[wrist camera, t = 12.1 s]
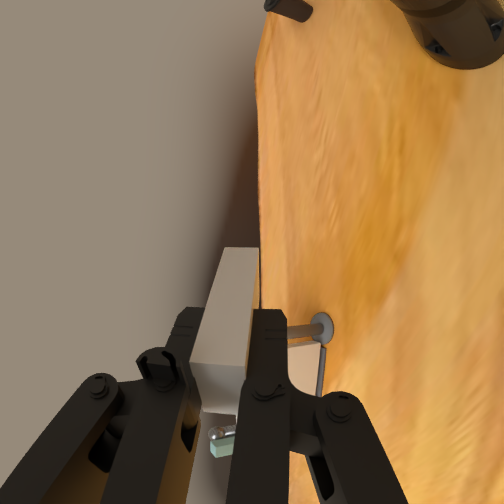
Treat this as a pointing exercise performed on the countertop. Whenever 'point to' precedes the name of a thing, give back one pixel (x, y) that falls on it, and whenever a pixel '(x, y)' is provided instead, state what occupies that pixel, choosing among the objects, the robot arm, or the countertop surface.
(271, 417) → the robot arm
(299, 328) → the gate
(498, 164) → the countertop surface
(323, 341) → the sill
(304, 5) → the coffee cup
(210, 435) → the post
